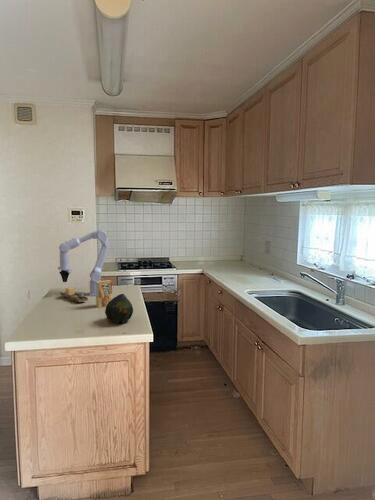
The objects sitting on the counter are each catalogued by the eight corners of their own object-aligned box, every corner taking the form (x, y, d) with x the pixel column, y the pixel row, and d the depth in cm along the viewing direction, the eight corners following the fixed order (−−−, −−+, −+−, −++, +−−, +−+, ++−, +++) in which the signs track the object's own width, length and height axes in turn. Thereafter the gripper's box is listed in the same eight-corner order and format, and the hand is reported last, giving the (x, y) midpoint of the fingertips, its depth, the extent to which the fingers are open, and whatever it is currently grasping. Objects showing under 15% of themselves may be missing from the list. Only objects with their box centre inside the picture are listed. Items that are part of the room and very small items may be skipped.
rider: (74, 294, 240) (74, 288, 240) (68, 295, 237) (68, 289, 237) (71, 293, 243) (71, 287, 242) (65, 294, 240) (65, 288, 240)
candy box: (109, 304, 229) (108, 279, 227) (112, 305, 225) (112, 281, 224) (95, 306, 223) (95, 281, 221) (99, 308, 220) (98, 282, 218)
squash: (101, 316, 187) (120, 293, 189) (99, 309, 201) (117, 287, 203) (122, 332, 191) (141, 310, 192) (119, 324, 205) (137, 303, 207)
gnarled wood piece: (88, 302, 232) (88, 293, 231) (78, 304, 227) (78, 295, 226) (69, 295, 248) (69, 287, 247) (59, 297, 243) (59, 288, 242)
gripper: (53, 260, 244) (54, 281, 246) (64, 263, 234) (64, 284, 236) (63, 259, 249) (63, 279, 251) (74, 262, 239) (74, 283, 241)
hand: (64, 281), depth 244 cm, fingers closed
